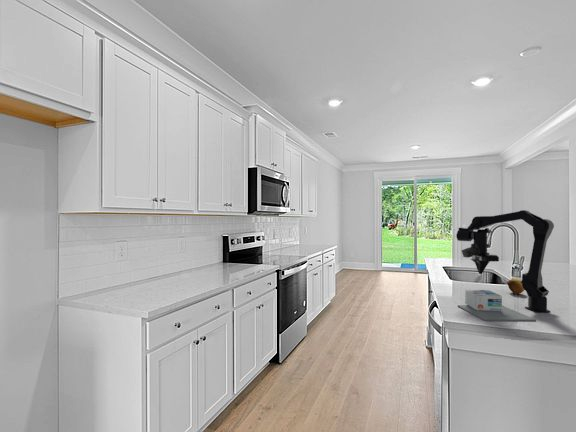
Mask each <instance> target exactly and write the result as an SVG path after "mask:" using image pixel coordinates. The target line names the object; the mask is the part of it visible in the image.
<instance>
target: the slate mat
mask: <svg viewBox="0 0 576 432" xmlns="http://www.w3.org/2000/svg"><path fill="white" fill-rule="evenodd" d="M457 308H460V309H462V310H464V311H466V312H467V313H469V314H471V315H473V316H475V317H477V318H479V319H480V320H482V321H484V322H537V319H536V318H533V317H531V316H528V315H526V314H524V313H521V312H519V311H517V310H514V309H511V308H509V307H506V306H504V305H502V311H481V310H475V309H474V308H472V307H470V306H469V305H467V304H457Z"/></svg>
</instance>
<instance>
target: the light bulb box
mask: <svg viewBox="0 0 576 432" xmlns="http://www.w3.org/2000/svg"><path fill="white" fill-rule="evenodd" d="M464 296H465V299H464V305H469V306H470V307H472V308H474V309H475V310H481V311H502V306H503V303H502V302H503V299H502V298H503V297H502V295H500V293H496V292H493V291H491V290H488V289H487V290H485V289H465V295H464Z"/></svg>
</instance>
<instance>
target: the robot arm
mask: <svg viewBox="0 0 576 432" xmlns="http://www.w3.org/2000/svg"><path fill="white" fill-rule="evenodd" d="M520 220H521V221H523V222H525V223H526V224H528V225H529V226H531V227H532V233H533V235H532V236H533V238H534V240H533V246H532V251H531V256H530V261H529V262H530V263H529V268H528V271H527V272H525V273H523V274H522V275H521V283H522V287H523V289H524V291H525V292H526V294H527V297H528V298H527V300H528V303H527V305H528V306H525V307H524V308H525V309H527V310H530V311H533V312H535V313H551V310H549V309H548V297H547V296H549V295H548V294H549V293H550V291H549V290H548V289H547V288H546V287H545V286H544V284H543V276H542V268H543V262H544V260H545V259H544V258H545V253H546V247H547V241H548V239H549V238H550V237H551V235H552V232H553V230H554V227H555V224H554V222H553V221H552V220H550V219H546V218H542V217H540V216H538V215H536V214H534V213H531V212H530V211H529V210H525V209H524V210H523V209H522V210H519V211H515V212H509V213H503V214H498V215H486V216H484V215H483V216H482V215H481V216H480V215H479V216H474V217H472V220H471V223H470V224H469V226H467V227H458V231H456V240H457V241H459V242H472V241H473V243H471V244H470V247H467V248H464V249H462V250H461V254H462V256H463V257H464V258H470V260H471V261H472V262H474V264H475V267H476V270H477V273H478V274H479V275H483V273H484V271H485V269H486V268H487V266H488V264H489V263H490V262H499V261H500V260H499V259H500V258H499V256H498V255H496V254H490V252H488V247H490V244H488V234H491V233H493V231H492V230H490V229H489V227H491V226H493V225H496V224H502V223H508V222H513V221H514V222H515V221H520Z"/></svg>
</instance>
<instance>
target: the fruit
mask: <svg viewBox="0 0 576 432" xmlns="http://www.w3.org/2000/svg"><path fill="white" fill-rule="evenodd" d="M521 281H522V279H519V278H518V277H517V278H516V277H515V278H511V279H509V280H508V281H507V282H506V284H507V286H508V289H509V290H510V292H512V294H515V295H519V294H521V293H523V292H524V291H525V290H524V289H523V287H522V283H521Z"/></svg>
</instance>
